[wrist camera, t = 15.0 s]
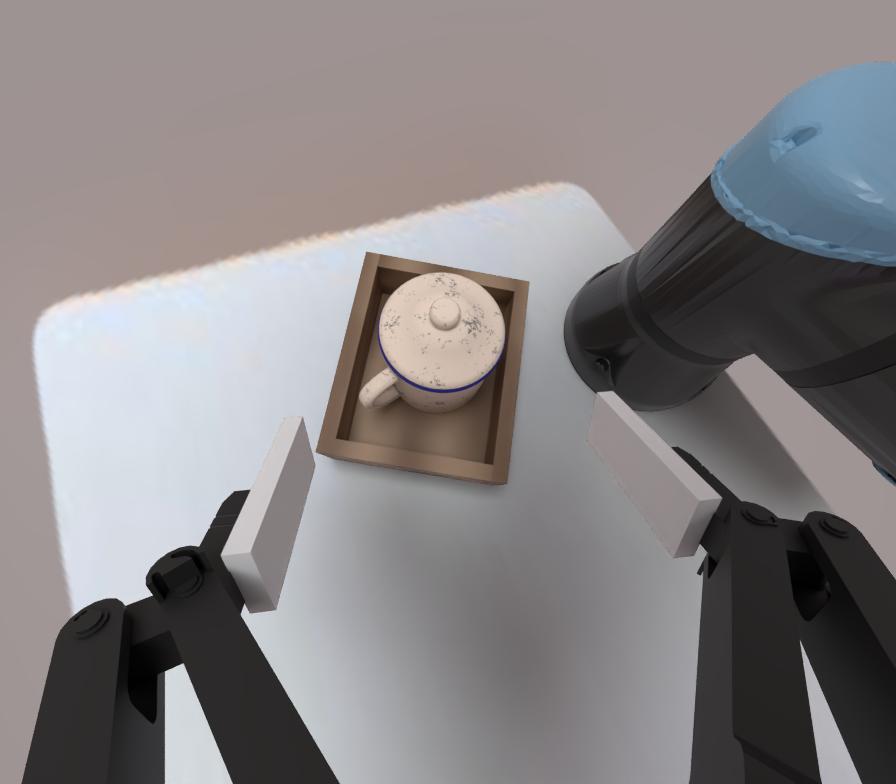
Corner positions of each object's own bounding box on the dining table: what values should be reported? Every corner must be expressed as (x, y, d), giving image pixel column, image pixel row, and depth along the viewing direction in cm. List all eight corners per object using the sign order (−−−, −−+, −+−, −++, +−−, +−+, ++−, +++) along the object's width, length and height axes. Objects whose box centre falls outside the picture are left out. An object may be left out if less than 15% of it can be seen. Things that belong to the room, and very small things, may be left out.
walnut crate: (513, 311, 38) (529, 281, 32) (492, 485, 33) (506, 483, 28) (373, 285, 37) (366, 251, 32) (332, 458, 33) (315, 452, 27)
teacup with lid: (444, 306, 36) (456, 223, 25) (505, 377, 35) (546, 323, 23) (341, 378, 33) (301, 320, 22) (401, 458, 32) (392, 440, 21)
